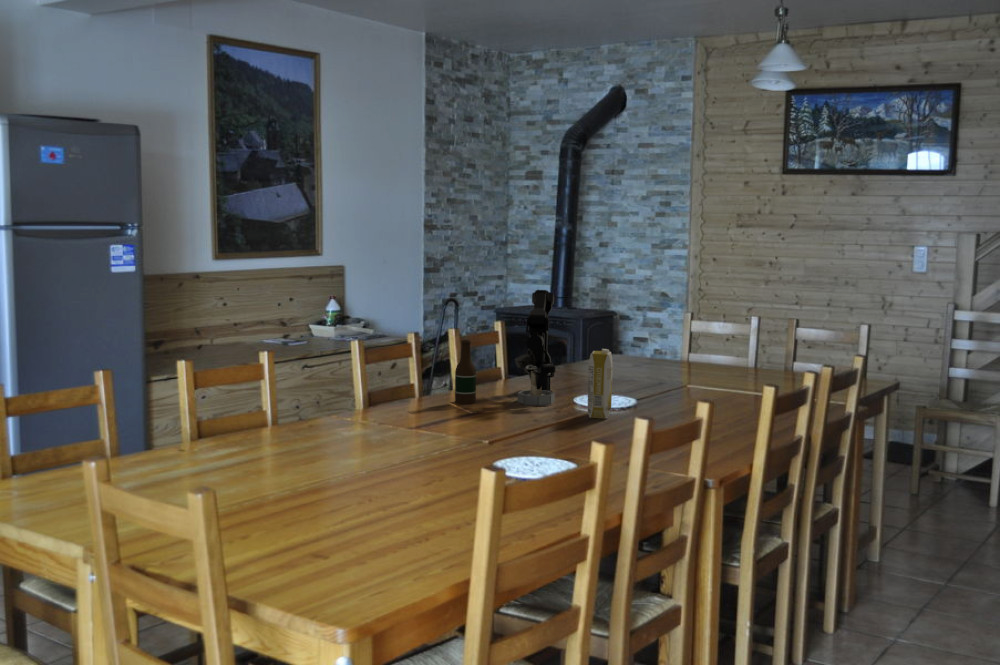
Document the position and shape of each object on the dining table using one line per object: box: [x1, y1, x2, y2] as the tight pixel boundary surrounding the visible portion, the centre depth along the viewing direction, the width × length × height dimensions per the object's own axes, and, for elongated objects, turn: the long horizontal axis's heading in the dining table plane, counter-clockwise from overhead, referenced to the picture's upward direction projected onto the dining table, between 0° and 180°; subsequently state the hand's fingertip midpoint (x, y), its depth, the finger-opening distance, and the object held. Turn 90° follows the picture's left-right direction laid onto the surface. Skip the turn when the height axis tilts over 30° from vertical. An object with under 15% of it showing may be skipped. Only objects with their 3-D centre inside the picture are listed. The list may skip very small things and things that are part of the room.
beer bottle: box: [454, 339, 477, 405], centre depth 366 cm, size 8×8×24 cm
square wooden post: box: [530, 371, 542, 396], centre depth 369 cm, size 3×3×10 cm
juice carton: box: [587, 348, 614, 420], centre depth 346 cm, size 9×8×24 cm
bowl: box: [517, 389, 556, 408], centre depth 370 cm, size 13×13×4 cm
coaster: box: [482, 395, 514, 402], centre depth 376 cm, size 9×9×1 cm
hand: (536, 388), depth 370 cm, fingers closed on square wooden post, 3 cm apart
